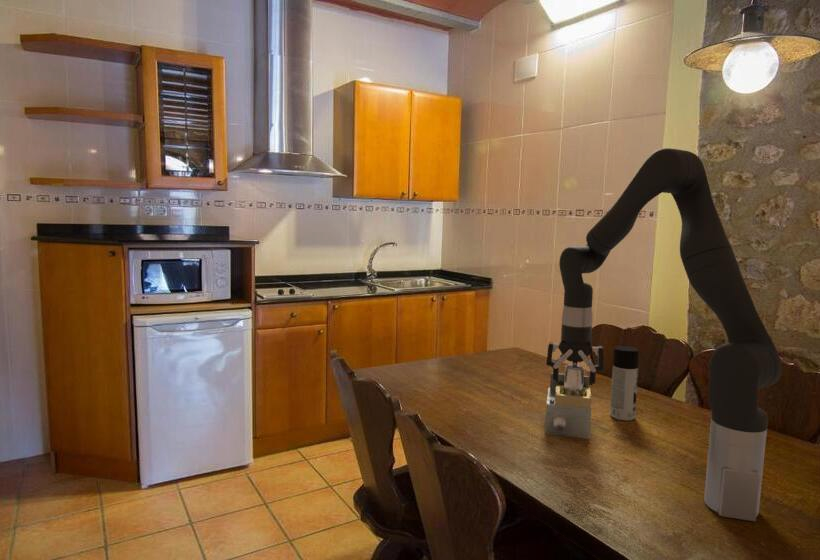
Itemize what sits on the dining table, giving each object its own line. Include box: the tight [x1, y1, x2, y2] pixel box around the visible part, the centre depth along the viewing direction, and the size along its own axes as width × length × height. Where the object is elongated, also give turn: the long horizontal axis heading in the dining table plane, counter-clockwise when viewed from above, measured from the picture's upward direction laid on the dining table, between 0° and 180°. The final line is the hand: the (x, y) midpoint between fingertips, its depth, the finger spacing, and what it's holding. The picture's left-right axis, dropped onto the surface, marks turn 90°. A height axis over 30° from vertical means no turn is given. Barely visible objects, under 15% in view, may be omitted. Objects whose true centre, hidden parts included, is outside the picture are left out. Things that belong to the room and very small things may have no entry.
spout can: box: [564, 361, 585, 396], centre depth 140 cm, size 5×5×11 cm
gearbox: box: [544, 372, 592, 440], centre depth 141 cm, size 17×11×13 cm, turn 163°
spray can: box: [609, 345, 640, 422], centre depth 150 cm, size 7×7×20 cm
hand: (573, 383), depth 140 cm, fingers open, 8 cm apart
